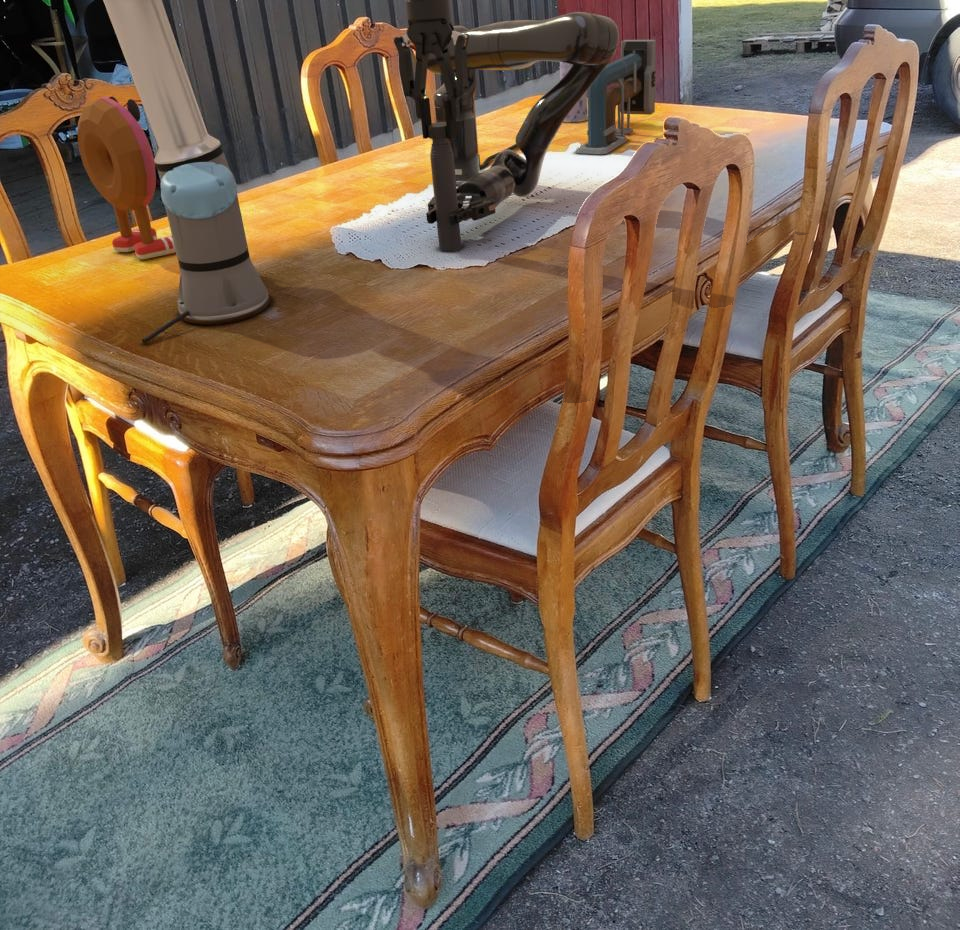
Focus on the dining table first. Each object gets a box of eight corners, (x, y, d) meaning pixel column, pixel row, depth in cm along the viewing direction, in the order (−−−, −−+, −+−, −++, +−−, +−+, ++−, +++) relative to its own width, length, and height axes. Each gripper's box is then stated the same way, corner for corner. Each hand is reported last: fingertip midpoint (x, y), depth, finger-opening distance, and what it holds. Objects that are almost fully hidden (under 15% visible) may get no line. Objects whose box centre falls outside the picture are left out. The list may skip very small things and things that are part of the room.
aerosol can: (559, 122, 275) (557, 47, 265) (562, 117, 282) (559, 42, 272) (587, 121, 274) (585, 45, 263) (589, 115, 280) (587, 41, 270)
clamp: (605, 154, 239) (605, 62, 228) (573, 153, 243) (571, 62, 232) (654, 123, 265) (655, 39, 254) (624, 122, 269) (624, 39, 258)
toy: (197, 251, 195) (161, 95, 180) (152, 266, 189) (111, 105, 174) (143, 235, 208) (105, 88, 193) (99, 248, 202) (57, 97, 187)
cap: (450, 138, 173) (449, 126, 172) (427, 140, 173) (426, 127, 172) (452, 133, 177) (451, 121, 176) (429, 134, 177) (428, 122, 176)
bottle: (434, 249, 185) (422, 129, 174) (448, 243, 188) (437, 124, 177) (452, 252, 183) (441, 130, 172) (465, 246, 186) (455, 125, 175)
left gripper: (371, -1, 163) (388, 141, 175) (465, -6, 157) (476, 142, 169) (391, -6, 169) (406, 132, 181) (482, -11, 163) (491, 132, 175)
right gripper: (447, 173, 194) (405, 197, 181) (512, 176, 188) (473, 201, 175) (451, 210, 198) (409, 236, 185) (514, 215, 192) (476, 241, 179)
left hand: (440, 136), depth 175 cm, fingers closed on cap, 4 cm apart
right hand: (440, 219), depth 180 cm, fingers closed on bottle, 4 cm apart
